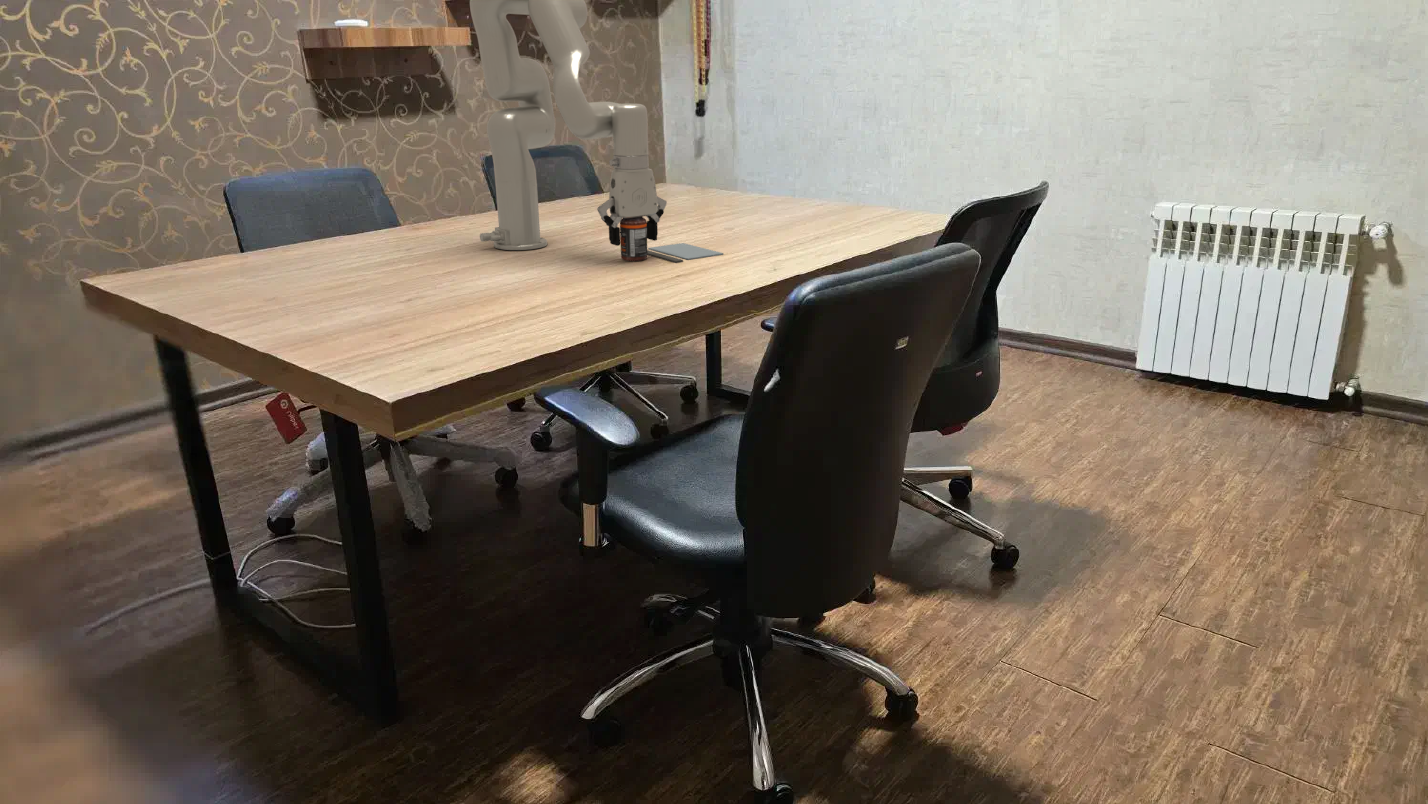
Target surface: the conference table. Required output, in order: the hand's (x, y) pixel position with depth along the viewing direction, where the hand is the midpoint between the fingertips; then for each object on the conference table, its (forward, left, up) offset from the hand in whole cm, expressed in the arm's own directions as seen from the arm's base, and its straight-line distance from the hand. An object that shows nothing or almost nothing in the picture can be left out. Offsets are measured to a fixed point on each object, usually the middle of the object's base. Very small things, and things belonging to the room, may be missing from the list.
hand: (633, 242), depth 215 cm
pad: (+14, 0, -4) cm, 15 cm away
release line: (+6, 0, -4) cm, 7 cm away
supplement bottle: (0, 0, -4) cm, 4 cm away
